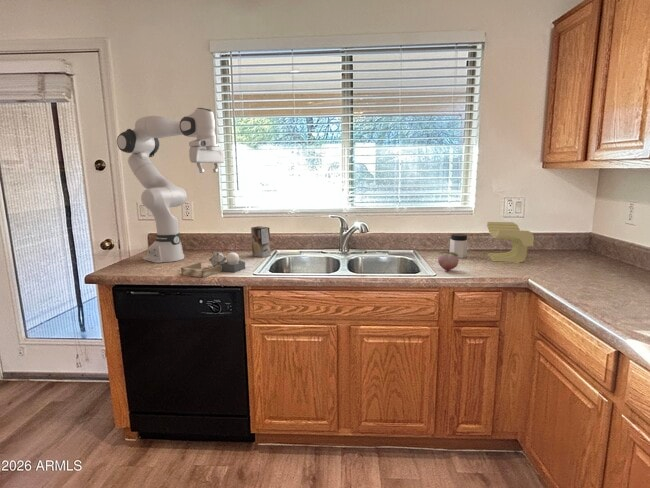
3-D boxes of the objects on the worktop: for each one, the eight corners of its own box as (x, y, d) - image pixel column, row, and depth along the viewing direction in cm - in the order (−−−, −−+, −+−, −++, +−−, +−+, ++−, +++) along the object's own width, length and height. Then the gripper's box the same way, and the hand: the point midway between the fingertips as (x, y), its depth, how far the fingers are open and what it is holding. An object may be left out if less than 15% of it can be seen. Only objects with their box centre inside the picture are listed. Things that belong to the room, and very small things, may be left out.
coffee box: (271, 255, 218) (270, 227, 215) (262, 257, 213) (261, 228, 210) (260, 253, 224) (259, 225, 220) (251, 255, 219) (250, 227, 216)
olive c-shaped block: (531, 267, 187) (534, 230, 184) (495, 265, 191) (498, 230, 187) (515, 254, 216) (518, 222, 213) (485, 252, 219) (487, 221, 216)
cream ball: (224, 267, 186) (223, 253, 185) (232, 264, 191) (231, 250, 190) (234, 268, 184) (233, 254, 182) (242, 265, 189) (241, 251, 187)
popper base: (221, 270, 186) (221, 263, 185) (232, 266, 193) (232, 260, 192) (234, 272, 183) (234, 265, 182) (245, 268, 190) (244, 261, 189)
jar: (469, 257, 208) (470, 235, 206) (455, 258, 206) (456, 236, 204) (460, 254, 216) (461, 233, 214) (446, 255, 215) (448, 233, 212)
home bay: (181, 274, 180) (181, 267, 180) (200, 268, 191) (199, 262, 190) (203, 277, 174) (203, 271, 174) (221, 271, 185) (221, 265, 184)
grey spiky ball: (220, 275, 192) (220, 262, 185) (205, 268, 193) (204, 255, 186) (230, 263, 198) (230, 250, 191) (215, 256, 199) (214, 243, 192)
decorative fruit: (459, 269, 184) (460, 248, 182) (457, 273, 177) (458, 252, 175) (438, 267, 188) (439, 247, 186) (436, 271, 181) (437, 250, 179)
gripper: (216, 144, 196) (218, 172, 198) (185, 142, 178) (188, 173, 180) (226, 144, 193) (228, 172, 195) (196, 141, 175) (198, 172, 178)
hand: (208, 172), depth 188 cm, fingers open, 8 cm apart
